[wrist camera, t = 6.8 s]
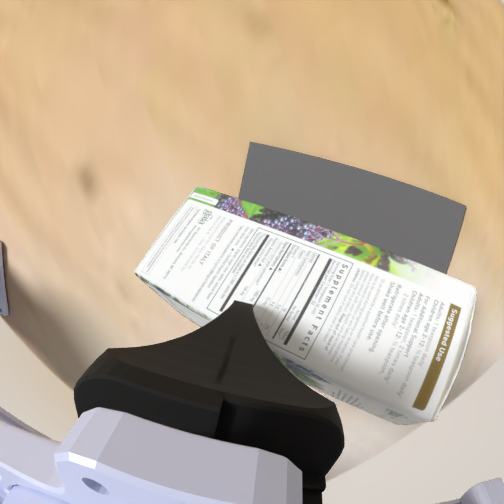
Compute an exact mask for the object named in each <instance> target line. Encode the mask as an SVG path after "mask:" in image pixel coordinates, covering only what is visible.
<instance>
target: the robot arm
mask: <svg viewBox="0 0 504 504" xmlns="http://www.w3.org/2000/svg"><path fill="white" fill-rule="evenodd" d="M0 314H2V315H4V316H7V315H8V314H9V311H8V304H7V297H6V289H5V280H4V270H3V258H2V244H1V242H0ZM74 401H75V405H76V410H77V413H78V418H79V419H78V420H77V421H76V423H75V424H74V426H73V427H72V429H71V430H70V432H69V433H68V434H67V436H66V437H65V439H64V440H63V441H62V443H61V442H58V441H55V440H52V439H51V438H49V437H47V436H45V435H44V434H42V433H40V432H39V431H37V430H35V429H34V428H32V427H30V426H29V425H27V424H25V423H24V422H22V421H21V420H19V419H17V418H16V417H15V416H13V415H12V414H10V413H9V412H7V411H6V410H4V409H3V408H1V407H0V504H322V492H323V491H324V490H325V488H326V481H325V476H326V474H327V473H328V472H329V470H330V469H331V468H332V466H333V465H334V463H335V462H336V461H337V459H338V458H339V456H340V455H341V453H342V451H343V448H344V432H343V427H342V423H341V420H340V416H339V414H338V411H337V408H336V405H335V403H334V402H332V401H330V400H329V399H327V398H325V397H324V396H322V395H320V394H318V393H317V392H315V391H314V390H312V389H311V388H309V387H308V386H307V385H305V384H304V383H303V382H301V381H300V380H299V379H298V378H297V377H295V376H294V375H293V374H292V373H291V372H290V371H289V370H288V369H287V368H286V367H285V366H284V365H283V364H282V363H281V362H280V361H279V359H278V358H277V357H276V356H275V354H274V353H273V352H272V350H271V349H270V347H269V345H268V344H267V342H266V340H265V339H264V337H263V335H262V333H261V330H260V328H259V326H258V323H257V321H256V318H255V315H254V311H253V304H249V303H245V302H241V301H236V300H234V302H233V303H232V304H231V305H230V306H229V307H228V308H227V309H226V310H225V311H224V312H223V313H221V314H220V315H219V316H217V317H216V318H215V319H213V320H212V321H211V322H209V323H207V324H206V325H204V326H203V327H201V328H199V329H197V330H196V331H194V332H192V333H189V334H187V335H185V336H182V337H179V338H176V339H173V340H170V341H166V342H163V343H159V344H154V345H148V346H142V347H131V348H108V349H107V350H106V351H105V352H104V353H103V354H102V355H100V356H99V357H98V358H97V359H96V360H95V361H94V362H93V364H92V365H91V366H90V367H89V368H88V369H87V371H86V372H85V373H84V374H83V375H82V377H81V378H80V379H79V380H78V381H77V383H76V386H75V388H74ZM437 504H504V484H503V482H502V479H501V478H496V479H493V480H489V481H485V482H481V483H479V484H476V485H475V486H473V487H472V488H470V489H469V490H468V491H467V492H466V493H465V494H464V495H463V496H462V497H461V498H460V499H456V500H452V501H448V502H442V503H437Z"/></svg>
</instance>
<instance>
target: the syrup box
mask: <svg viewBox="0 0 504 504" xmlns="http://www.w3.org/2000/svg"><path fill="white" fill-rule="evenodd" d="M135 274H136V276H138V277H139V278H140V279H141V280H142V281H143V282H144V283H145V284H147V285H148V286H149V287H150V288H151V289H152V290H153V291H155V292H156V293H157V294H158V295H159V296H161V297H162V298H163V299H164V300H165V301H166V302H167V303H169V304H170V305H171V306H172V307H173V308H174V309H176V310H177V311H178V312H179V313H180V314H181V315H183V316H184V317H186V318H187V319H189V320H191V321H192V322H194V323H195V324H197V325H199V326H200V327H203V326H204V325H206V324H207V323H209V322H211V321H212V320H213V319H215V318H216V317H217V316H219V315H220V314H221V313H223V312H224V311H225V310H226V309H227V308H228V307H229V306H230V305H231V304H232V303H233V302H234V300H236V301H241V302H245V303H249V304H253V311H254V315H255V318H256V321H257V323H258V326H259V328H260V330H261V333H262V335H263V337H264V339H265V340H266V342H267V344H268V345H269V347H270V349H271V350H272V352H273V353H274V354H275V356H276V357H277V358H278V359H279V361H280V362H281V363H282V364H283V365H284V366H285V367H286V368H287V369H288V370H289V371H290V372H291V373H292V374H293V375H294V376H295V377H297V378H298V379H299V380H300V381H301V382H303V383H305V384H307V385H309V386H311V387H313V388H315V389H317V390H319V391H321V392H324V393H326V394H328V395H330V396H332V397H334V398H337V399H339V400H341V401H343V402H346V403H348V404H350V405H352V406H355V407H357V408H359V409H361V410H364V411H366V412H369V413H371V414H373V415H376V416H378V417H380V418H383V419H385V420H387V421H390V422H392V423H394V424H403V425H408V424H414V423H418V422H434V421H436V420H437V417H438V414H439V412H440V410H441V408H442V406H443V404H444V402H445V400H446V398H447V396H448V394H449V392H450V390H451V388H452V385H453V383H454V381H455V379H456V376H457V374H458V371H459V369H460V366H461V363H462V360H463V358H464V355H465V352H466V348H467V345H468V341H469V337H470V333H471V329H472V323H473V318H474V312H475V305H476V296H477V291H476V288H475V287H474V286H472V285H470V284H468V283H465V282H463V281H461V280H458V279H456V278H453V277H451V276H449V275H446V274H444V273H442V272H439V271H437V270H434V269H432V268H429V267H427V266H424V265H422V264H419V263H417V262H414V261H412V260H409V259H407V258H404V257H401V256H399V255H396V254H394V253H391V252H389V251H386V250H384V249H381V248H378V247H376V246H373V245H370V244H368V243H365V242H362V241H360V240H357V239H354V238H352V237H349V236H346V235H343V234H341V233H338V232H335V231H332V230H330V229H327V228H324V227H321V226H318V225H316V224H313V223H310V222H307V221H304V220H301V219H298V218H296V217H292V216H289V215H286V214H283V213H280V212H277V211H274V210H271V209H268V208H265V207H262V206H260V205H257V204H254V203H251V202H247V201H244V200H241V199H238V198H235V197H232V196H229V195H225V194H222V193H219V192H216V191H213V190H210V189H207V188H203V187H200V186H199V187H197V188H195V189H194V190H193V191H192V192H191V194H190V195H189V196H188V197H187V199H186V200H185V201H184V203H183V204H182V205H181V207H180V208H179V209H178V210H177V212H176V213H175V214H174V216H173V217H172V218H171V220H170V221H169V222H168V224H167V225H166V226H165V228H164V229H163V231H162V232H161V233H160V235H159V236H158V238H157V239H156V240H155V242H154V243H153V245H152V246H151V248H150V249H149V251H148V252H147V253H146V255H145V256H144V258H143V259H142V261H141V262H140V264H139V265H138V267H137V268H136V270H135Z"/></svg>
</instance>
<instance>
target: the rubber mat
mask: <svg viewBox="0 0 504 504" xmlns="http://www.w3.org/2000/svg"><path fill="white" fill-rule="evenodd" d="M238 199H241V200H244V201H247V202H251V203H254V204H257V205H260V206H262V207H265V208H268V209H271V210H274V211H277V212H280V213H283V214H286V215H289V216H292V217H296V218H298V219H301V220H304V221H307V222H310V223H313V224H316V225H318V226H321V227H324V228H327V229H330V230H332V231H335V232H338V233H341V234H343V235H346V236H349V237H352V238H354V239H357V240H360V241H362V242H365V243H368V244H370V245H373V246H376V247H378V248H381V249H384V250H386V251H389V252H391V253H394V254H396V255H399V256H401V257H404V258H407V259H409V260H412V261H414V262H417V263H419V264H422V265H424V266H427V267H429V268H432V269H434V270H437V271H439V272H442V273H444V274H446V271H447V269H448V266H449V263H450V260H451V257H452V254H453V251H454V248H455V244H456V241H457V238H458V235H459V231H460V228H461V224H462V221H463V217H464V213H465V209H466V206H465V205H463V204H460V203H458V202H455V201H453V200H450V199H448V198H445V197H442V196H440V195H437V194H434V193H432V192H429V191H426V190H423V189H420V188H418V187H415V186H412V185H409V184H406V183H403V182H400V181H397V180H394V179H391V178H388V177H385V176H382V175H378V174H375V173H372V172H369V171H365V170H362V169H359V168H355V167H352V166H348V165H345V164H341V163H337V162H334V161H330V160H326V159H323V158H319V157H315V156H311V155H307V154H303V153H299V152H294V151H290V150H286V149H281V148H277V147H272V146H268V145H263V144H258V143H253V142H250V146H249V151H248V155H247V160H246V165H245V169H244V174H243V179H242V184H241V188H240V193H239V198H238Z"/></svg>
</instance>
